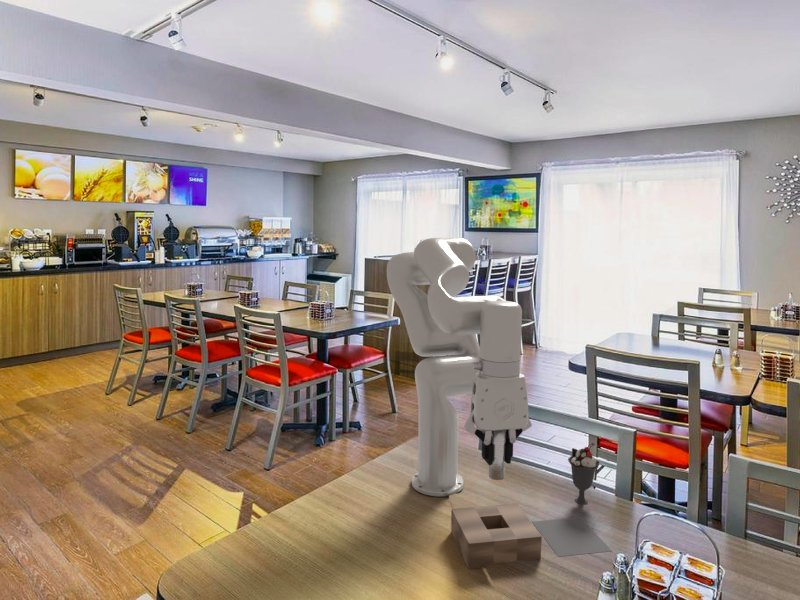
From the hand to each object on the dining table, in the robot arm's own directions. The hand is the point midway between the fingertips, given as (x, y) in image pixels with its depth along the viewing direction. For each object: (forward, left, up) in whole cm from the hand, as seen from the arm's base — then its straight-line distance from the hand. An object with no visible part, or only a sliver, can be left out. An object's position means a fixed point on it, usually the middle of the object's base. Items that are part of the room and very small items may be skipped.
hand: (497, 460), depth 100 cm
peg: (0, 0, -3) cm, 3 cm away
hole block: (0, 0, -18) cm, 18 cm away
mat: (0, +16, -18) cm, 24 cm away
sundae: (-12, +25, -18) cm, 33 cm away
